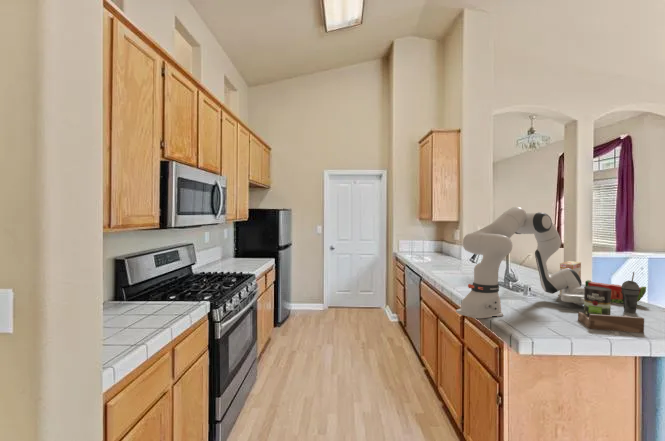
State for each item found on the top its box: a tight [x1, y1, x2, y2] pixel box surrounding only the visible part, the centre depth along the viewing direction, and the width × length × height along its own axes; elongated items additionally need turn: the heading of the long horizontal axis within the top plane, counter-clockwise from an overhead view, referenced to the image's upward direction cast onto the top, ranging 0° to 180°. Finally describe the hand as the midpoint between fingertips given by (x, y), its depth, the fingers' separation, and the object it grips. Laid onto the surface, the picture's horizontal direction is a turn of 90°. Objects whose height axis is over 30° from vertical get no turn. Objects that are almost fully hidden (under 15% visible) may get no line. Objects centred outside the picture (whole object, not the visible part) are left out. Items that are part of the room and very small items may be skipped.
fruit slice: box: [584, 279, 647, 304], centre depth 202 cm, size 26×6×10 cm, turn 45°
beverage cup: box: [621, 271, 640, 314], centre depth 181 cm, size 7×7×20 cm
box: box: [577, 311, 645, 334], centre depth 159 cm, size 14×19×6 cm
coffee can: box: [583, 285, 612, 317], centre depth 171 cm, size 10×10×14 cm
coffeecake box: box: [559, 260, 582, 295], centre depth 218 cm, size 15×7×20 cm, turn 130°
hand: (589, 302), depth 179 cm, fingers closed
